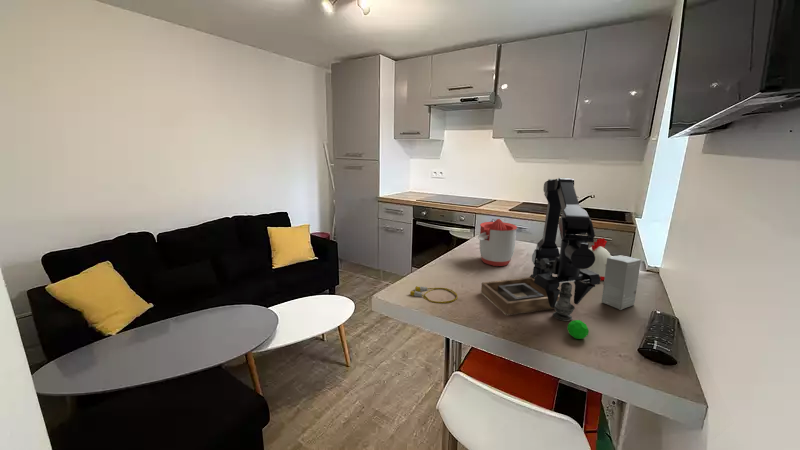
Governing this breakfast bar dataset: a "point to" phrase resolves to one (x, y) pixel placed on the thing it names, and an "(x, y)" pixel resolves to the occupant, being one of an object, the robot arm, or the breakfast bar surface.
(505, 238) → the citrus juicer
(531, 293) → the inlet collar
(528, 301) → the walled box
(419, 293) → the extension cord
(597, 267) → the white chicken dome
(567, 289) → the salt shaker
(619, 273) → the skincare box
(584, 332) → the polyhedron
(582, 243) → the robot arm
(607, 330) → the breakfast bar surface
